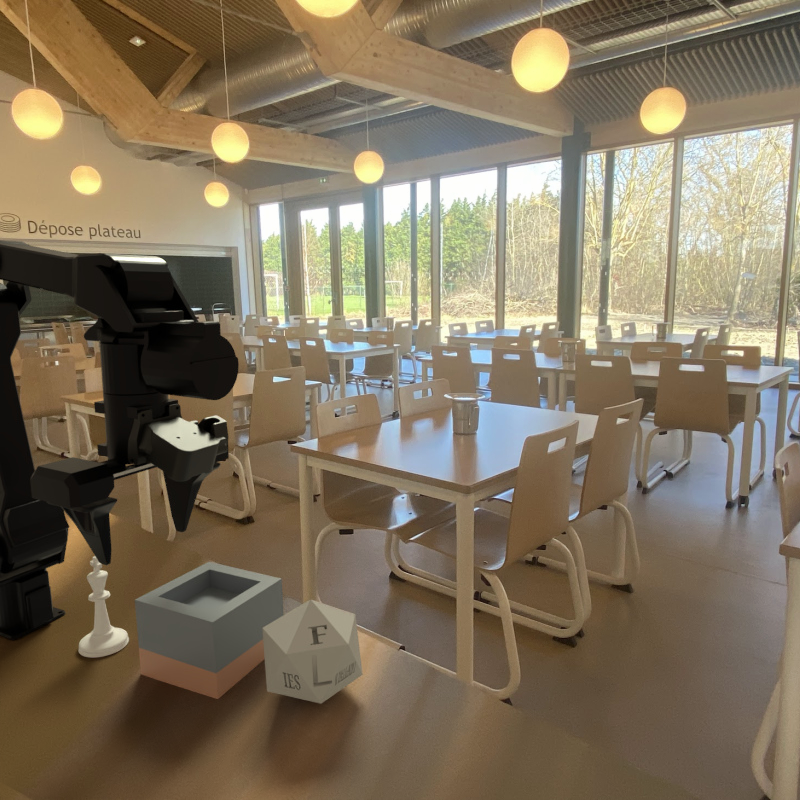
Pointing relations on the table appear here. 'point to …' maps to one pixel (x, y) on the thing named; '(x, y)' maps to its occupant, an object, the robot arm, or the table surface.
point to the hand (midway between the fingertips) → (145, 546)
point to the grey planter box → (206, 627)
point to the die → (312, 652)
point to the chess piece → (101, 620)
